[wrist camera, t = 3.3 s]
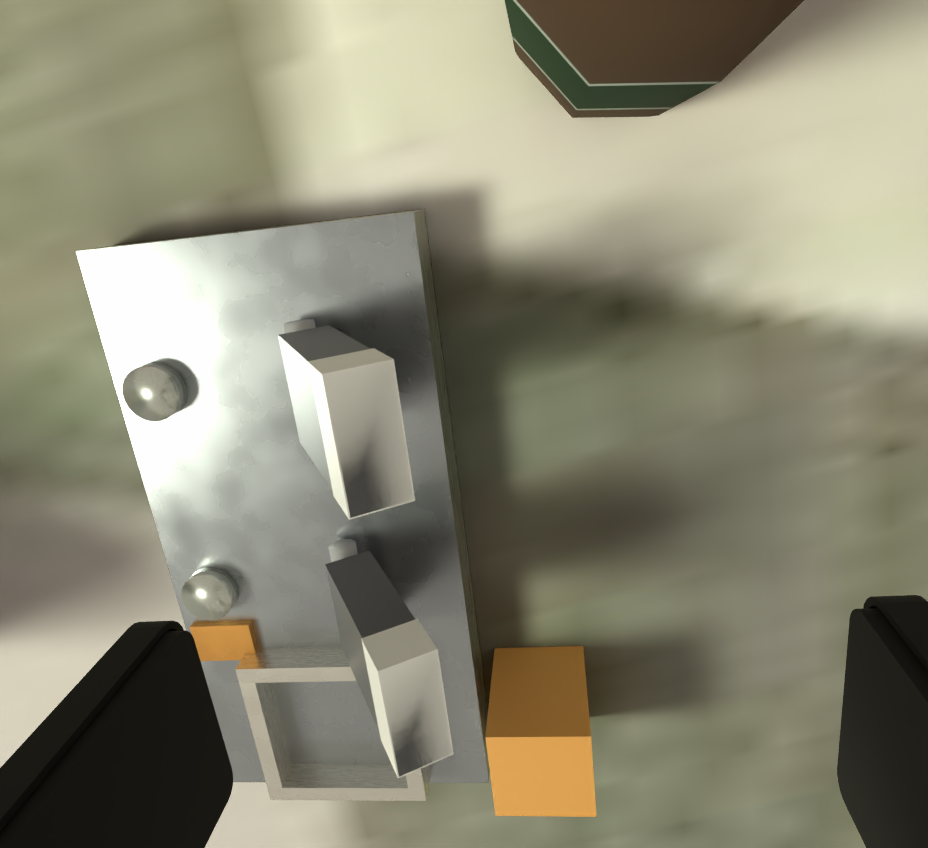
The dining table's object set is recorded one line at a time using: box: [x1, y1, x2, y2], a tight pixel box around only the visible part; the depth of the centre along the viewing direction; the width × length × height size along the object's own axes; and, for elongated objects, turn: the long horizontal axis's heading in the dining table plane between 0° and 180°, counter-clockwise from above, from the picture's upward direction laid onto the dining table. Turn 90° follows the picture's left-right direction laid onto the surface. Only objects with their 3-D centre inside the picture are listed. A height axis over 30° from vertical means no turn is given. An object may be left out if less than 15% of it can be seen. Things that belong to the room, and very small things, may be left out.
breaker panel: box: [76, 209, 490, 801], centre depth 32 cm, size 14×28×4 cm, turn 7°
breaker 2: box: [325, 539, 453, 778], centre depth 27 cm, size 2×5×9 cm, turn 6°
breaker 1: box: [278, 319, 415, 520], centre depth 24 cm, size 2×5×9 cm, turn 6°
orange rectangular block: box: [485, 646, 596, 817], centre depth 33 cm, size 4×4×6 cm
